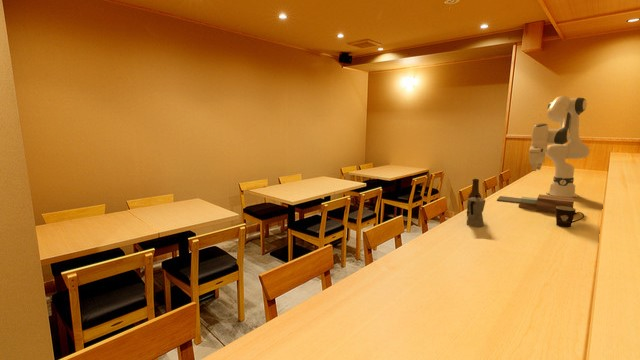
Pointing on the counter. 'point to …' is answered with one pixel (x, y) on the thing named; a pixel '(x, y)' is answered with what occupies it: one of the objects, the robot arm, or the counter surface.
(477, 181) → the beer bottle
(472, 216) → the coffeepot
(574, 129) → the robot arm
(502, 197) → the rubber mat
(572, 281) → the counter surface
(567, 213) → the coffee mug
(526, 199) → the cover plate
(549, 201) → the walnut case
